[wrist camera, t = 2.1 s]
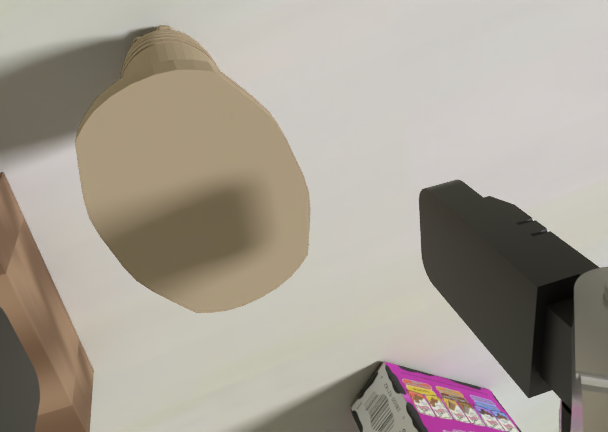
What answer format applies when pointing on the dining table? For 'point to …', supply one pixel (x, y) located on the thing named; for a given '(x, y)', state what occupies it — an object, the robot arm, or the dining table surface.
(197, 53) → the handle
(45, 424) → the collar block
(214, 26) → the dining table surface
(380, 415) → the candy bar box
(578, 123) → the dining table surface
